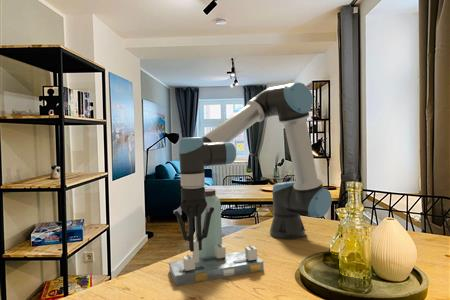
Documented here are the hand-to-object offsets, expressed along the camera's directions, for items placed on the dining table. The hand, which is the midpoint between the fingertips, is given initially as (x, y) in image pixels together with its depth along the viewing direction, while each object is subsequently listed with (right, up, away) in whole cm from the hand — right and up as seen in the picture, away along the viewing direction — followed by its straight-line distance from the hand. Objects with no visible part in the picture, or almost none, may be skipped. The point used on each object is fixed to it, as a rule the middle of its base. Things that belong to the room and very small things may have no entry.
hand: (196, 260), depth 106 cm
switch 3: (+18, -1, +6) cm, 19 cm away
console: (+6, -5, +5) cm, 10 cm away
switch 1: (-2, -2, 0) cm, 3 cm away
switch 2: (+8, -1, +9) cm, 12 cm away
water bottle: (+3, -5, +18) cm, 19 cm away
